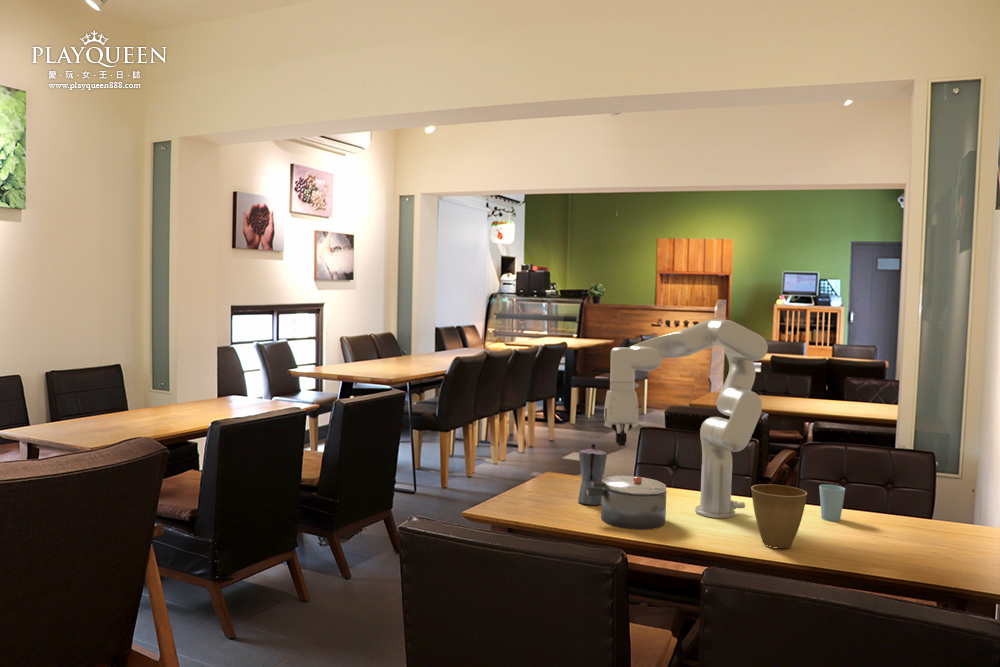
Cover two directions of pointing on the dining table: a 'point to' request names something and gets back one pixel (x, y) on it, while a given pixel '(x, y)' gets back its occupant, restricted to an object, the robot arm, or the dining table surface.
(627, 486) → the cooker lid
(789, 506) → the plant pot
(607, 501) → the cooker pot
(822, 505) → the cup
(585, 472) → the moka pot
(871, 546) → the dining table surface
